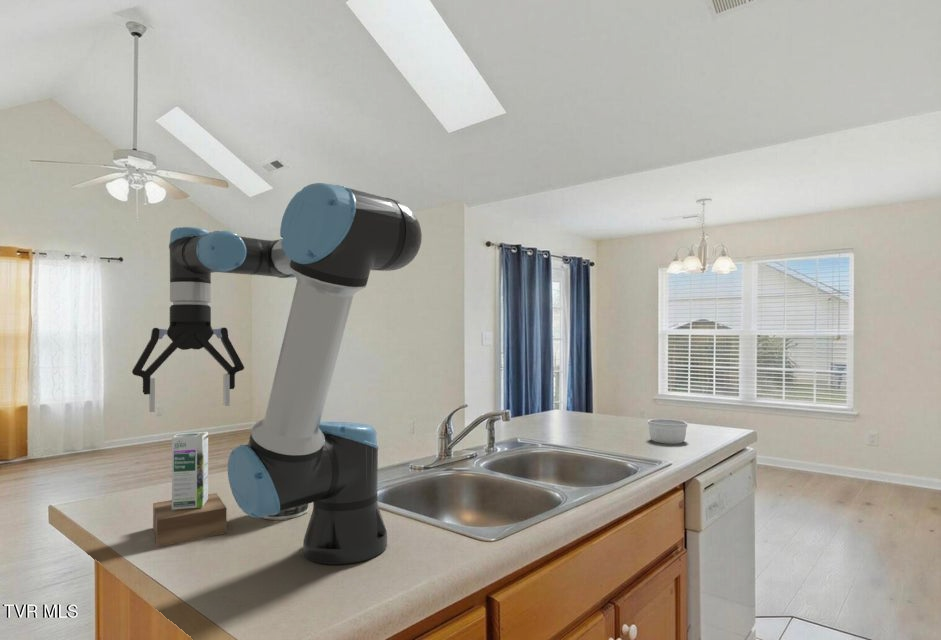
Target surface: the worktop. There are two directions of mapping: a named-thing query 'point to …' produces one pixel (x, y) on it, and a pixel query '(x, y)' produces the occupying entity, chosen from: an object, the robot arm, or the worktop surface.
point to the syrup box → (189, 470)
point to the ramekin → (667, 430)
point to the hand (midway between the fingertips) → (190, 408)
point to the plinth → (188, 521)
